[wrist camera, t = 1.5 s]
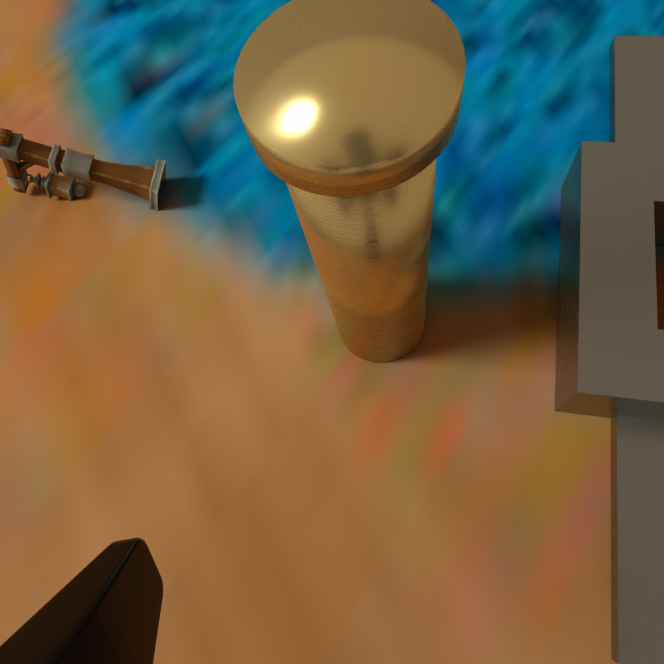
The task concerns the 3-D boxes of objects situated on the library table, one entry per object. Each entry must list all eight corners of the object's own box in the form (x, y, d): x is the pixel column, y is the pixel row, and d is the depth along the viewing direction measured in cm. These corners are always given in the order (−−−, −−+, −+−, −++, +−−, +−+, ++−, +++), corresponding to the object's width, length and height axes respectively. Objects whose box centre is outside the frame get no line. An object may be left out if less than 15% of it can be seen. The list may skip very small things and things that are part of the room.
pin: (456, 329, 22) (516, 71, 10) (370, 393, 22) (318, 209, 9) (390, 255, 24) (368, -50, 11) (308, 313, 24) (193, 63, 11)
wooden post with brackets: (2, 166, 28) (-26, 106, 23) (165, 205, 29) (165, 157, 25) (-9, 197, 27) (-40, 141, 23) (158, 235, 29) (157, 190, 25)
